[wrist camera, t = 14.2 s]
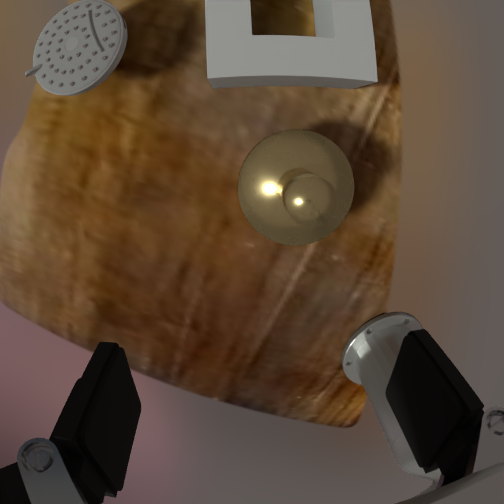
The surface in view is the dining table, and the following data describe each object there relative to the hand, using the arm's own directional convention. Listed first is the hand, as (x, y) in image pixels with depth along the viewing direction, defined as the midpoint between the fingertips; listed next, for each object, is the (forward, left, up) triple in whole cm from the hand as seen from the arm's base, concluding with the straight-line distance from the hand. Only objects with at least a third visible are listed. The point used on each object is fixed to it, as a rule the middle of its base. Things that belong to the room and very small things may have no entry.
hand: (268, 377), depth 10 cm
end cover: (-1, -5, -24) cm, 24 cm away
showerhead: (+22, +1, -24) cm, 33 cm away
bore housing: (+12, -15, -24) cm, 31 cm away
